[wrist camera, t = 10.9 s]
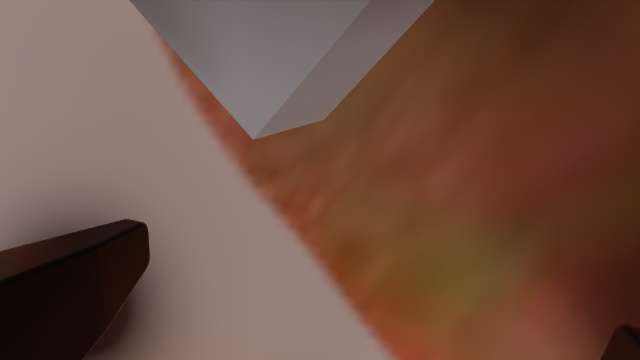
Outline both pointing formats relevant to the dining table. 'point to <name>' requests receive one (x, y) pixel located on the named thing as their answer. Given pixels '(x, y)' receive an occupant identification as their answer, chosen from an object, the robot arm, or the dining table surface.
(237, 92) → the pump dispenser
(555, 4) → the dining table surface
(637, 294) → the dining table surface
